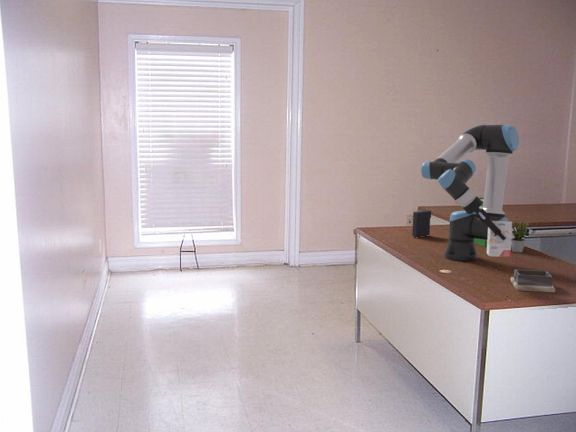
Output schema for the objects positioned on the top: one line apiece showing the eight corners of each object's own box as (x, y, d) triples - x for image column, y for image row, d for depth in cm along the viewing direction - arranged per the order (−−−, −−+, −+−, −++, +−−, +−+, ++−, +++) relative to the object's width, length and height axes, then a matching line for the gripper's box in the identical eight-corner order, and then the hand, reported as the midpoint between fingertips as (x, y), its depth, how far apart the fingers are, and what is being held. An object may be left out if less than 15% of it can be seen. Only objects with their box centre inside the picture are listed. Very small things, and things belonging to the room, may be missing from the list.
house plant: (514, 246, 288) (516, 216, 286) (538, 251, 277) (540, 220, 274) (497, 250, 281) (499, 219, 278) (521, 255, 269) (523, 223, 267)
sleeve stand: (510, 280, 228) (511, 267, 227) (546, 282, 225) (547, 269, 224) (516, 290, 214) (517, 276, 213) (555, 292, 211) (556, 278, 210)
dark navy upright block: (424, 234, 319) (425, 209, 316) (430, 236, 315) (431, 210, 313) (411, 237, 313) (412, 211, 310) (416, 238, 309) (417, 212, 307)
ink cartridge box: (507, 254, 224) (510, 219, 221) (510, 257, 219) (513, 221, 216) (485, 253, 225) (488, 218, 223) (488, 256, 220) (491, 220, 218)
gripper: (460, 204, 231) (498, 244, 230) (463, 211, 213) (504, 254, 213) (474, 192, 229) (512, 232, 228) (478, 198, 211) (520, 242, 210)
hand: (508, 243), depth 220 cm, fingers closed on ink cartridge box, 5 cm apart
